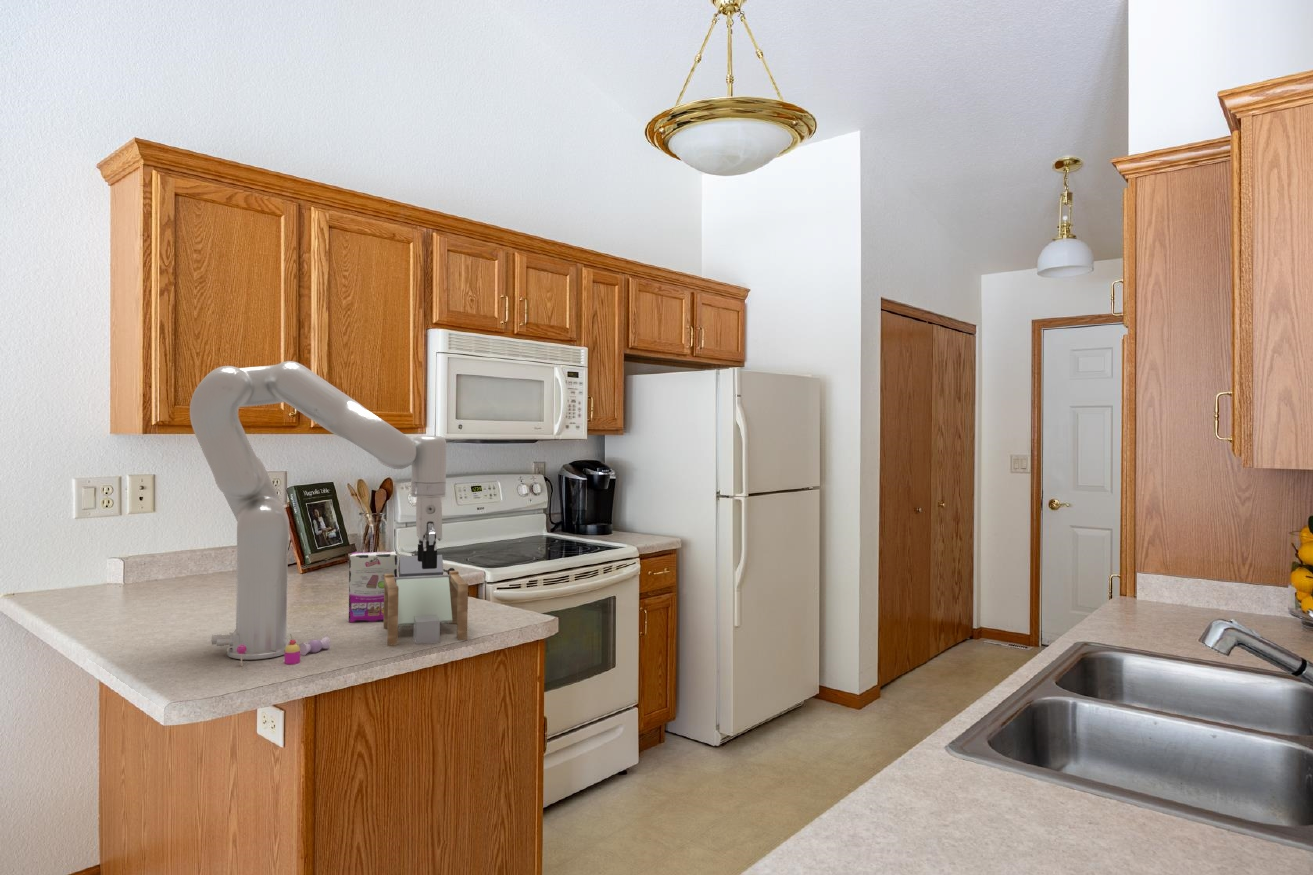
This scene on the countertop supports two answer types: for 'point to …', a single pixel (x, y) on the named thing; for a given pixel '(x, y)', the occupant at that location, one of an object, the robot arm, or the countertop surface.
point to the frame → (457, 606)
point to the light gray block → (426, 629)
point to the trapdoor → (422, 591)
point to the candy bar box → (369, 584)
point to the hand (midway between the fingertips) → (426, 564)
